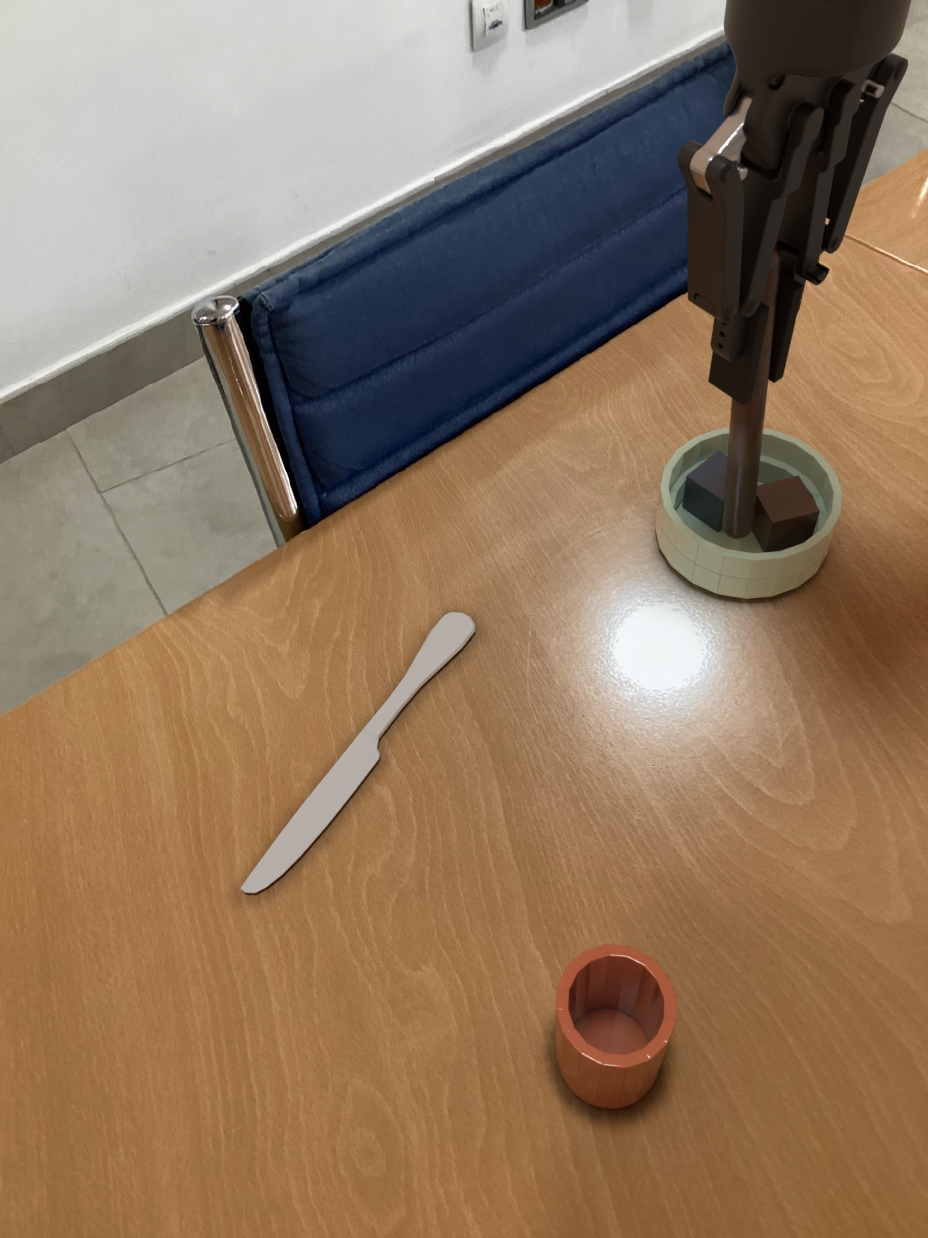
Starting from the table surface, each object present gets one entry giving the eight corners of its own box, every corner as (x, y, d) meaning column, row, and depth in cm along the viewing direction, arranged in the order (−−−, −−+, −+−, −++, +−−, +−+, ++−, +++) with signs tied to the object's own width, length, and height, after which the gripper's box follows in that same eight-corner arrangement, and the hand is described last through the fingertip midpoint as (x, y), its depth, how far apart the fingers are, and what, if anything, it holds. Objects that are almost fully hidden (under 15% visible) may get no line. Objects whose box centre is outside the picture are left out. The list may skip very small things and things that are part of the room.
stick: (756, 541, 71) (789, 246, 54) (728, 548, 71) (752, 255, 54) (745, 520, 72) (774, 227, 56) (717, 528, 72) (737, 236, 56)
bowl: (862, 539, 76) (879, 493, 72) (745, 633, 73) (756, 590, 68) (735, 448, 82) (745, 401, 78) (620, 531, 78) (624, 485, 74)
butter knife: (484, 622, 74) (450, 605, 75) (263, 905, 63) (227, 879, 64) (485, 626, 74) (450, 608, 75) (265, 907, 64) (228, 882, 65)
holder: (681, 1060, 57) (702, 1011, 49) (605, 1133, 56) (613, 1094, 47) (609, 980, 60) (618, 920, 52) (535, 1046, 58) (531, 996, 50)
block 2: (810, 542, 76) (820, 511, 73) (764, 554, 75) (772, 522, 73) (790, 507, 78) (798, 474, 75) (744, 518, 77) (752, 486, 75)
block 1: (749, 506, 78) (756, 474, 75) (718, 533, 77) (724, 501, 74) (712, 482, 80) (718, 449, 77) (681, 507, 78) (686, 475, 76)
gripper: (874, -145, 47) (783, 292, 66) (628, -25, 42) (607, 408, 62) (1023, -98, 43) (881, 350, 63) (772, 40, 39) (702, 478, 58)
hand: (745, 378), depth 62 cm, fingers closed on stick, 2 cm apart
